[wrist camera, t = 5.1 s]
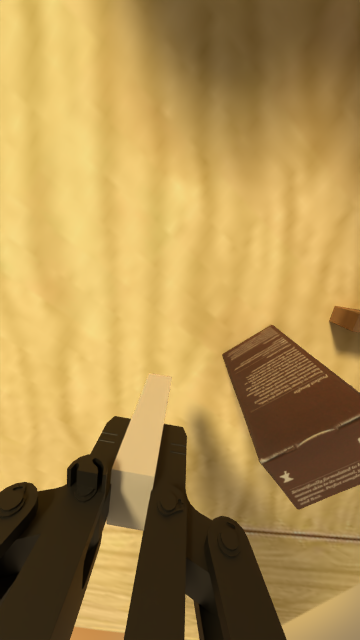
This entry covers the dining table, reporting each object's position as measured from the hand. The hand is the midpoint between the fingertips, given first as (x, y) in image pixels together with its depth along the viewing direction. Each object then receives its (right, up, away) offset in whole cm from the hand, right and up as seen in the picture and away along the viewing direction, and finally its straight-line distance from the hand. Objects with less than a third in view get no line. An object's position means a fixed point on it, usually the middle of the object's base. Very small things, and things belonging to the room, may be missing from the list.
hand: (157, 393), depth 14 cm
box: (+9, +1, +8) cm, 12 cm away
